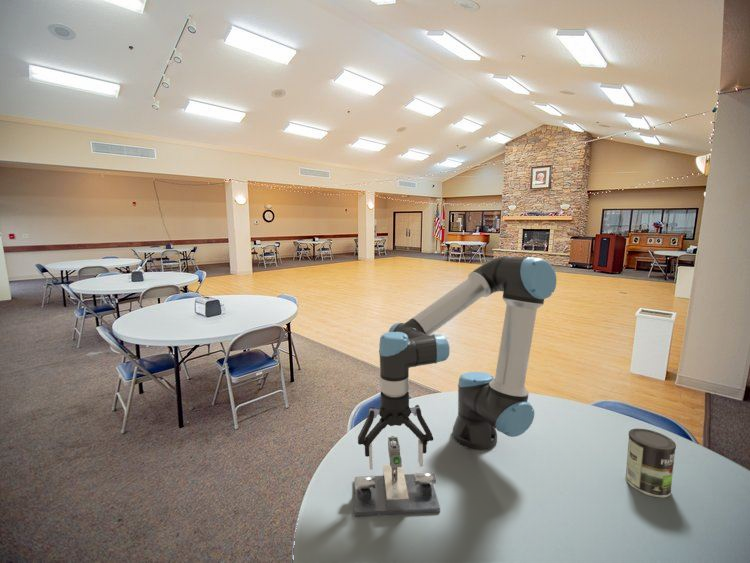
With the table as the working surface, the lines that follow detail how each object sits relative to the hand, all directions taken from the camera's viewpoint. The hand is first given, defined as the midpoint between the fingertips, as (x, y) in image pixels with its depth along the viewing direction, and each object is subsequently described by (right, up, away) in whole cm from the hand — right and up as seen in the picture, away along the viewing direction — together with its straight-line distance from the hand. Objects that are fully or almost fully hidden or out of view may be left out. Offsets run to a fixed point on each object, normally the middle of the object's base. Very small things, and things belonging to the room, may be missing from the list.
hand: (395, 464), depth 93 cm
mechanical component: (0, -5, +1) cm, 5 cm away
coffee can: (+72, -8, +4) cm, 72 cm away
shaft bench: (0, -9, +1) cm, 9 cm away
